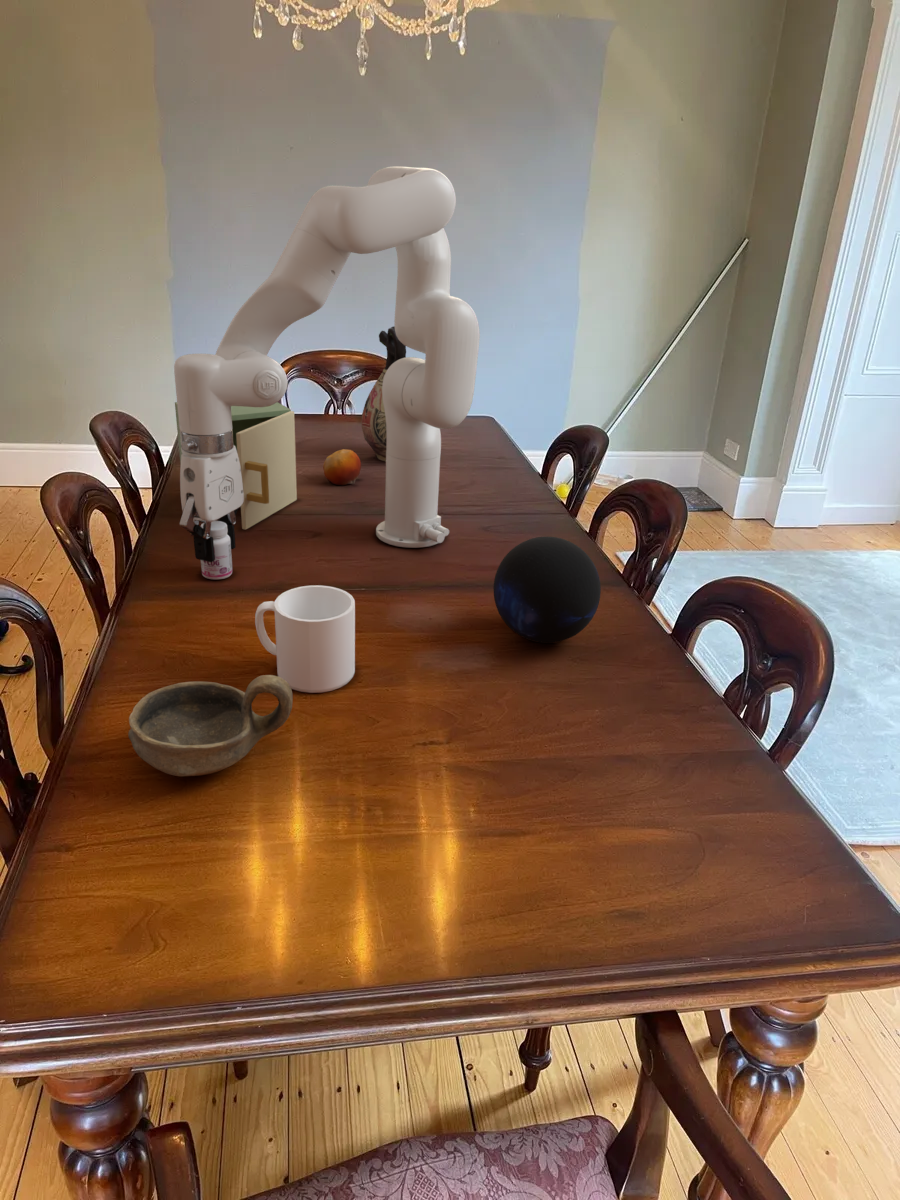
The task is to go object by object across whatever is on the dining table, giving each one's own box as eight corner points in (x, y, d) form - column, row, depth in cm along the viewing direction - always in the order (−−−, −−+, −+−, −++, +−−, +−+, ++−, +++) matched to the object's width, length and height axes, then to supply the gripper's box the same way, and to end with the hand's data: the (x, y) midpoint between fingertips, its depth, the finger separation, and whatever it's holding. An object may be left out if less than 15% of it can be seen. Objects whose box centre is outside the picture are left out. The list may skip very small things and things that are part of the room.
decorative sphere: (614, 640, 121) (629, 545, 114) (548, 674, 112) (560, 573, 105) (535, 602, 131) (545, 513, 124) (468, 631, 121) (475, 536, 114)
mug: (358, 654, 114) (358, 587, 109) (350, 695, 105) (350, 623, 100) (266, 650, 113) (262, 582, 109) (250, 691, 104) (245, 618, 100)
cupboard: (293, 499, 166) (291, 409, 158) (205, 513, 157) (197, 418, 149) (267, 480, 176) (264, 394, 168) (183, 492, 166) (174, 402, 158)
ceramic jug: (355, 449, 199) (355, 318, 185) (417, 447, 203) (422, 318, 190) (370, 471, 184) (372, 331, 171) (437, 468, 189) (443, 331, 175)
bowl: (147, 720, 98) (137, 647, 93) (298, 719, 99) (296, 647, 95) (116, 798, 85) (103, 718, 81) (289, 795, 87) (286, 716, 83)
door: (315, 503, 164) (313, 414, 156) (265, 534, 149) (260, 437, 141) (293, 499, 166) (290, 410, 158) (242, 529, 151) (235, 433, 143)
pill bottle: (202, 581, 131) (197, 531, 127) (201, 568, 135) (197, 520, 131) (233, 579, 132) (230, 530, 128) (232, 567, 136) (228, 518, 132)
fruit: (367, 482, 173) (347, 449, 170) (335, 499, 175) (315, 467, 172) (371, 470, 180) (352, 438, 177) (340, 487, 182) (321, 455, 179)
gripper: (192, 459, 115) (203, 578, 123) (260, 431, 130) (265, 539, 138) (148, 451, 118) (161, 568, 126) (219, 424, 132) (227, 531, 140)
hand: (215, 552), depth 132 cm, fingers closed on pill bottle, 4 cm apart
